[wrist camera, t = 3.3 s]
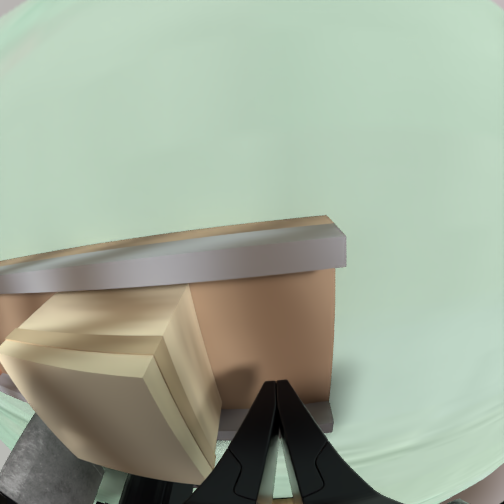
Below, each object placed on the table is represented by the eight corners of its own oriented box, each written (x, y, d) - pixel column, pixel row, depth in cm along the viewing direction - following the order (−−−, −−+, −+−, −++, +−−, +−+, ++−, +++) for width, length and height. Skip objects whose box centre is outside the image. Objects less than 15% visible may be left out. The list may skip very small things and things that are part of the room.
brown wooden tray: (326, 215, 11) (356, 247, 7) (324, 395, 14) (334, 447, 11) (-50, 271, 13) (-74, 288, 9) (-5, 366, 16) (-23, 387, 13)
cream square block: (189, 281, 10) (143, 376, 6) (223, 402, 13) (212, 486, 8) (56, 291, 11) (-7, 350, 6) (108, 395, 13) (77, 458, 9)
